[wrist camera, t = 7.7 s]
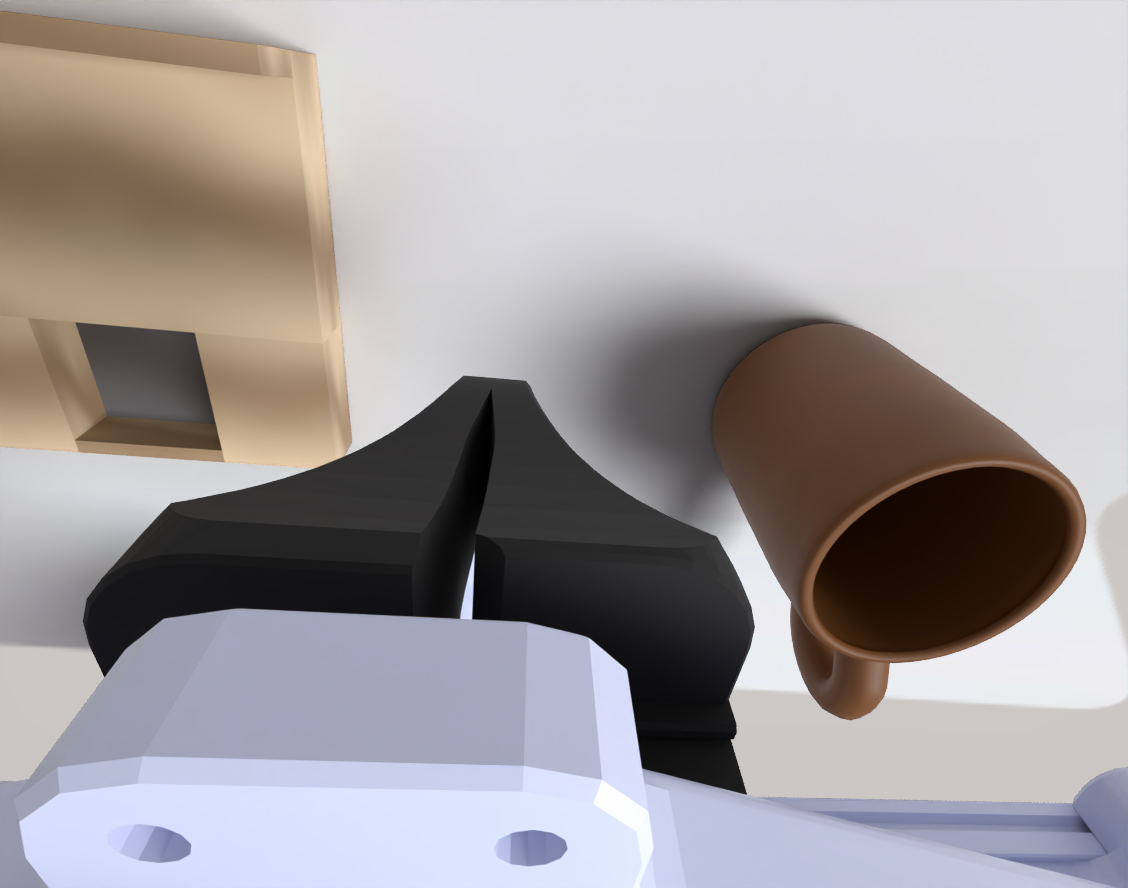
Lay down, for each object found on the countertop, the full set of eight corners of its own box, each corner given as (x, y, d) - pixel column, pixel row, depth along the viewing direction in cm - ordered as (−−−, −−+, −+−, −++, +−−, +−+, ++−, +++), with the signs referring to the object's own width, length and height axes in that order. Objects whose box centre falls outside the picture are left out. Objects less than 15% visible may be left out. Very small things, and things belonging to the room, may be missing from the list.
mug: (837, 559, 27) (960, 751, 19) (680, 560, 27) (740, 756, 19) (925, 316, 21) (1160, 451, 13) (722, 314, 21) (837, 452, 13)
